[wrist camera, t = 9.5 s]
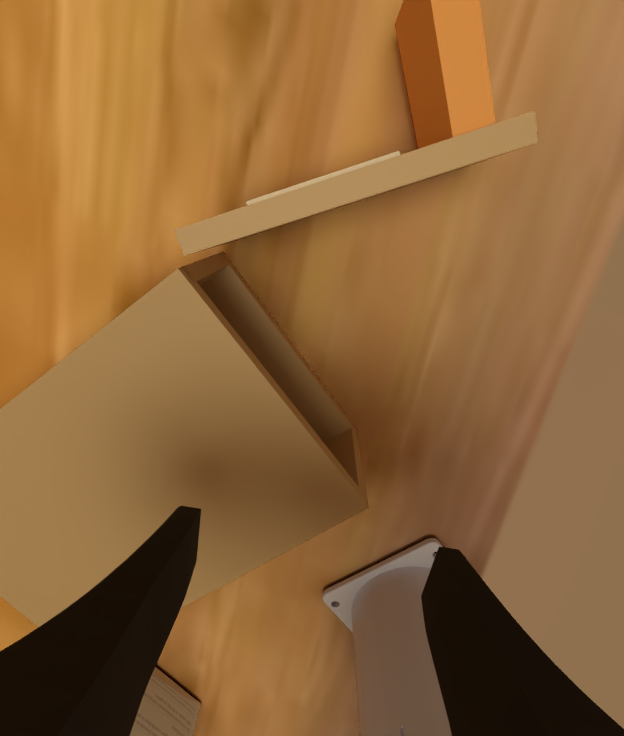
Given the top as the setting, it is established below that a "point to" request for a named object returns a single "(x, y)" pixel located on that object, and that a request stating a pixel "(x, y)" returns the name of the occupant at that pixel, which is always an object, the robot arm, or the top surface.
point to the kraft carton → (171, 445)
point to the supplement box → (165, 709)
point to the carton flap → (430, 118)
